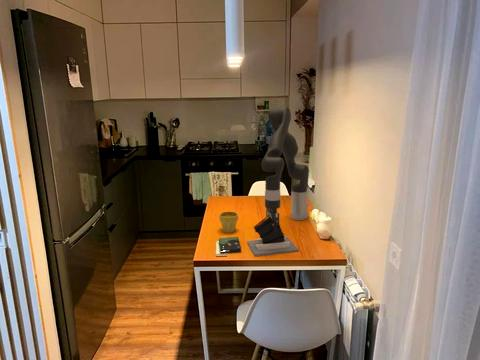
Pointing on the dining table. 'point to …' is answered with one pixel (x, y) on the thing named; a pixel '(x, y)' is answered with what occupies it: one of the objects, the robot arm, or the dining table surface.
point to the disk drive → (230, 245)
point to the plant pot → (228, 221)
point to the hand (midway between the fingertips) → (272, 229)
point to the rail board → (271, 247)
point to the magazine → (269, 231)
